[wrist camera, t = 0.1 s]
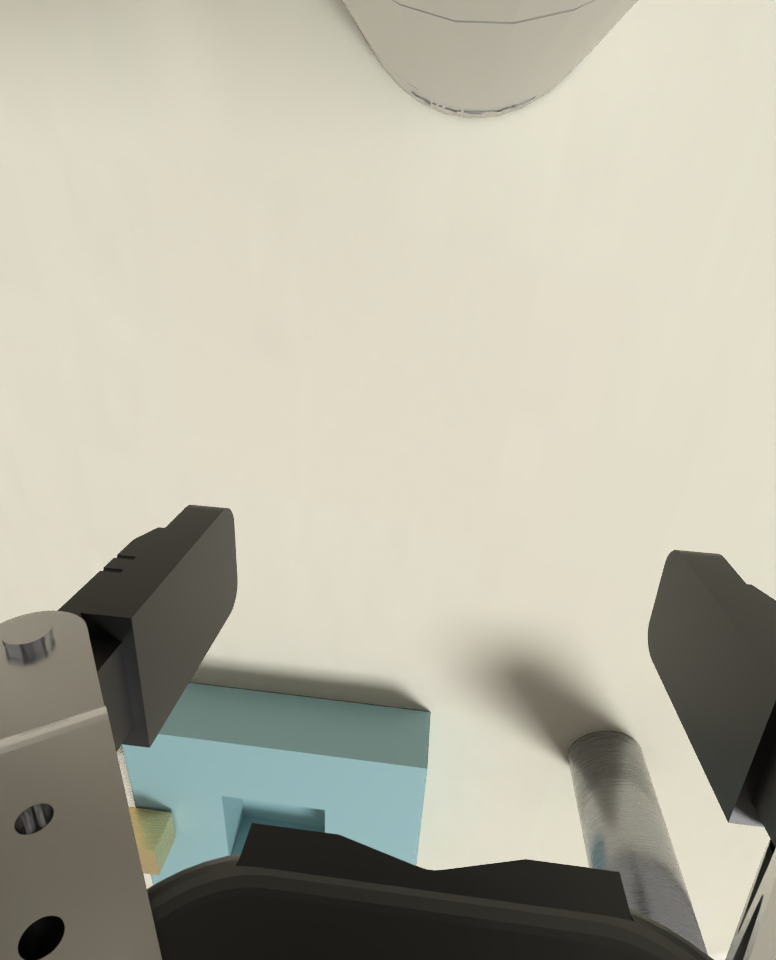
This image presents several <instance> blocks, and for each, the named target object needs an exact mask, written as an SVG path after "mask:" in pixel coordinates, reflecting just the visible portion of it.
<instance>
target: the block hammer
mask: <svg viewBox="0 0 776 960" xmlns="http://www.w3.org/2000/svg"><path fill="white" fill-rule="evenodd" d="M129 812H130V816H131V821H132V825H133V830H134V835H135V839H136V844H137V848H138V853H139V857H140V862H141V866H142V871H143V873H147V874H153V875H160V872H161V870H162V868H163V866H164V863H165V861H166V859H167V857H168V854H169V852H170V850H171V847H172V845H173V843H174V841H175V838H176V833H175V827H174V822H173V816H172V813H169V812H162V811H155V810H148V809H141V808H134V807H129Z"/></svg>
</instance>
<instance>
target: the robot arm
mask: <svg viewBox="0 0 776 960" xmlns="http://www.w3.org/2000/svg"><path fill="white" fill-rule="evenodd" d="M342 1H343V3H344V4H345V6H346V7H347V9H348V11H349V12H350V14H351V15H352V17H353V19H354V20H355V22H356V24H357V25H358V27H359V29H360V30H361V32H362V34H363V35H364V37H365V39H366V40H367V42H368V44H369V45H370V47H371V48H372V50H373V52H374V53H375V55H376V57H377V58H378V60H379V61H380V63H381V65H382V66H383V67H384V68H385V70H386V71H387V72H388V73H389V74H390V76H391V77H392V78H393V79H394V80H395V82H396V83H397V84H398V85H399V86H400V87H401V88H402V89H403V90H404V91H406V92H407V93H408V94H410V95H411V96H412V97H414V98H415V99H416V100H418V101H419V102H420V103H421V104H424V105H426V106H428V107H430V108H433V109H435V110H437V111H440V112H442V113H444V114H448V115H454V116H460V117H466V118H480V117H493V116H498V115H502V114H505V113H508V112H511V111H514V110H517V109H520V108H523V107H524V106H526V105H528V104H530V103H531V102H533V101H535V100H536V99H538V98H540V97H542V96H543V95H545V94H547V93H548V92H549V91H550V90H551V89H552V88H554V87H555V86H556V85H557V84H558V83H559V82H560V81H561V80H563V79H564V78H565V77H566V76H567V75H568V74H569V73H570V72H571V71H572V70H573V69H574V68H575V67H576V66H577V65H578V64H579V63H580V62H581V61H582V59H583V58H584V57H585V56H586V55H587V54H589V53H590V52H591V51H592V50H593V48H594V47H595V46H596V45H597V44H598V43H599V42H600V41H601V40H602V39H603V38H604V37H605V35H606V34H607V33H608V32H609V31H610V30H611V29H612V28H613V27H614V26H615V25H616V24H617V22H618V21H619V20H620V19H621V18H622V17H623V16H624V15H625V14H626V13H627V12H628V11H629V9H630V8H631V7H632V6H633V5H634V4H635V3H636V2H637V1H638V0H342ZM236 593H237V564H236V546H235V529H234V518H233V514H232V512H231V510H230V509H229V508H219V507H208V506H197V505H189V506H187V507H186V508H185V509H184V510H183V511H182V512H181V513H180V514H179V515H178V516H177V517H176V518H175V519H174V520H173V521H172V522H171V523H170V524H169V525H168V526H167V527H166V528H159V527H158V528H156V529H154V530H152V531H150V532H148V533H146V534H144V535H142V536H140V537H138V538H136V539H134V540H133V541H132V542H131V543H129V544H128V545H127V546H126V547H125V548H124V549H123V550H122V551H121V552H120V553H119V554H118V555H117V558H113V559H112V560H111V561H110V562H109V563H108V564H107V565H106V566H105V567H104V570H103V571H100V572H98V573H97V574H96V575H95V576H94V577H93V578H92V579H91V580H90V581H89V582H88V583H87V584H86V585H85V586H84V587H82V588H81V589H80V590H79V591H78V592H77V593H76V594H75V595H74V596H73V597H72V598H71V599H70V600H69V601H67V602H66V603H65V604H64V605H63V606H62V607H61V608H60V609H59V610H58V611H42V612H35V613H29V614H25V615H22V616H18V617H15V618H12V619H10V620H7V621H5V622H3V623H1V624H0V960H713V959H712V958H711V957H710V956H708V955H707V954H706V953H704V952H703V951H702V950H700V949H699V948H698V947H696V946H695V945H694V944H693V943H691V942H690V941H688V940H687V939H685V938H684V937H682V936H681V935H679V934H678V933H676V932H674V931H673V930H671V929H670V928H668V927H667V926H665V925H663V924H661V923H659V922H657V921H655V920H653V919H652V918H650V917H648V916H646V915H644V914H642V913H640V912H637V911H635V910H632V909H630V908H629V906H628V903H627V899H626V895H625V891H624V887H623V883H622V880H621V876H620V872H616V871H609V870H601V869H594V868H586V867H579V866H571V865H564V864H556V863H549V862H541V861H534V860H526V859H525V860H517V861H510V862H502V863H494V864H486V865H478V866H470V867H463V868H455V869H447V870H435V871H433V870H426V869H423V868H420V867H418V866H415V865H413V864H410V863H408V862H405V861H403V860H400V859H398V858H395V857H393V856H391V855H388V854H386V853H383V852H381V851H378V850H376V849H373V848H371V847H368V846H366V845H364V844H361V843H359V842H356V841H354V840H351V839H349V838H346V837H344V836H341V835H339V834H332V833H324V832H317V831H309V830H302V829H294V828H287V827H279V826H272V825H264V824H257V823H252V824H251V826H250V829H249V832H248V835H247V838H246V841H245V844H244V847H243V849H242V852H241V854H237V855H230V856H225V857H221V858H217V859H213V860H209V861H205V862H203V863H200V864H197V865H194V866H192V867H189V868H186V869H184V870H182V871H180V872H177V873H175V874H173V875H171V876H169V877H167V878H165V879H163V880H161V881H160V882H158V883H156V884H155V885H153V886H151V887H150V888H148V889H146V884H145V880H144V875H143V871H142V866H141V862H140V857H139V853H138V848H137V844H136V839H135V835H134V830H133V825H132V821H131V816H130V812H129V807H128V803H127V798H126V794H125V789H124V785H123V780H122V776H121V771H120V767H119V762H118V758H117V753H116V752H117V750H118V749H119V747H120V746H121V744H123V745H131V746H139V747H147V748H150V747H151V745H152V744H153V742H154V740H155V739H156V737H157V735H158V734H159V732H160V730H161V729H162V727H163V725H164V724H165V722H166V720H167V718H168V717H169V715H170V713H171V712H172V710H173V708H174V707H175V705H176V703H177V702H178V700H179V698H180V697H181V695H182V693H183V692H184V690H185V688H186V687H187V685H188V683H189V682H190V680H191V678H192V677H193V675H194V673H195V672H196V670H197V668H198V667H199V665H200V663H201V662H202V660H203V658H204V657H205V655H206V653H207V652H208V650H209V648H210V647H211V645H212V643H213V642H214V640H215V638H216V637H217V635H218V633H219V632H220V630H221V628H222V627H223V625H224V623H225V622H226V620H227V618H228V617H229V615H230V613H231V611H232V609H233V606H234V603H235V599H236ZM648 646H649V652H650V656H651V659H652V661H653V663H654V665H655V668H656V670H657V672H658V674H659V676H660V678H661V680H662V682H663V685H664V687H665V689H666V691H667V693H668V695H669V697H670V699H671V702H672V704H673V706H674V708H675V710H676V712H677V714H678V716H679V719H680V721H681V723H682V725H683V727H684V729H685V731H686V734H687V736H688V738H689V740H690V742H691V744H692V746H693V748H694V751H695V753H696V755H697V757H698V759H699V761H700V763H701V765H702V768H703V770H704V772H705V774H706V776H707V778H708V780H709V782H710V785H711V787H712V789H713V791H714V793H715V795H716V797H717V800H718V802H719V804H720V806H721V808H722V810H723V812H724V814H725V817H726V819H727V821H728V823H735V824H743V825H751V826H759V827H765V829H766V831H767V833H768V835H769V837H770V840H769V843H768V845H767V847H766V850H765V852H764V854H763V857H762V860H761V862H760V865H759V868H758V871H757V874H756V876H755V879H754V882H753V885H752V887H751V890H750V893H749V896H748V899H747V901H746V904H745V907H744V910H743V913H742V915H741V918H740V921H739V924H738V927H737V929H736V932H735V935H734V938H733V940H732V943H731V946H730V949H729V952H728V954H727V957H726V960H776V601H775V600H774V599H772V598H771V597H769V596H768V595H766V594H765V593H763V592H762V591H760V590H759V589H757V588H756V587H754V586H753V585H749V584H746V583H745V582H744V581H743V580H742V578H741V577H740V576H739V575H738V574H737V572H736V571H735V570H734V569H733V568H732V567H731V565H730V564H729V563H728V562H727V561H726V559H725V558H724V557H723V556H722V555H720V554H713V553H702V552H691V551H680V550H674V551H672V552H671V553H670V554H669V555H668V557H667V559H666V562H665V565H664V569H663V573H662V577H661V581H660V584H659V588H658V592H657V596H656V599H655V603H654V607H653V611H652V615H651V618H650V622H649V628H648Z"/></svg>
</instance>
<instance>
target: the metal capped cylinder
mask: <svg viewBox="0 0 776 960" xmlns="http://www.w3.org/2000/svg"><path fill="white" fill-rule="evenodd" d="M568 759H569V764H570V769H571V774H572V780H573V785H574V790H575V795H576V801H577V806H578V811H579V816H580V822H581V827H582V832H583V837H584V842H585V848H586V853H587V858H588V863H589V868H594V869H601V870H609V871H616V872H620V876H621V880H622V883H623V887H624V891H625V895H626V899H627V903H628V906H629V908H630V909H632V910H635V911H637V912H640V913H642V914H644V915H646V916H648V917H650V918H652V919H653V920H655V921H657V922H659V923H661V924H663V925H665V926H667V927H668V928H670V929H671V930H673V931H674V932H676V933H678V934H679V935H681V936H682V937H684V938H685V939H687V940H688V941H690V942H691V943H693V944H694V945H695V946H696V947H698V948H699V949H700V950H702V951H703V952H704V953H706V954H707V951H706V947H705V944H704V941H703V938H702V935H701V932H700V929H699V926H698V923H697V920H696V917H695V914H694V910H693V907H692V904H691V901H690V898H689V895H688V892H687V889H686V886H685V883H684V880H683V877H682V874H681V870H680V867H679V864H678V861H677V858H676V855H675V852H674V849H673V846H672V843H671V840H670V837H669V833H668V830H667V827H666V824H665V821H664V818H663V815H662V812H661V809H660V806H659V803H658V800H657V796H656V793H655V790H654V787H653V784H652V781H651V778H650V775H649V772H648V769H647V766H646V763H645V759H644V756H643V753H642V750H641V748H640V746H639V745H638V743H637V742H636V741H635V740H633V739H632V738H631V737H629V736H627V735H624V734H622V733H618V732H611V731H601V732H595V733H591V734H588V735H585V736H583V737H581V738H580V739H578V740H577V741H576V742H575V743H574V744H573V745H572V746H571V748H570V750H569V754H568ZM707 955H708V954H707Z"/></svg>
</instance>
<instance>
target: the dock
mask: <svg viewBox="0 0 776 960" xmlns="http://www.w3.org/2000/svg"><path fill="white" fill-rule="evenodd" d="M429 729H430V712H426V711H418V710H409V709H401V708H393V707H385V706H377V705H368V704H360V703H352V702H344V701H336V700H327V699H319V698H311V697H303V696H295V695H286V694H278V693H270V692H262V691H254V690H245V689H237V688H229V687H221V686H213V685H204V684H196V683H188V685H187V687H186V688H185V690H184V692H183V693H182V695H181V697H180V698H179V700H178V702H177V703H176V705H175V707H174V708H173V710H172V712H171V713H170V715H169V717H168V718H167V720H166V722H165V724H164V725H163V727H162V729H161V730H160V732H159V734H158V735H157V737H156V739H155V740H154V742H153V744H152V745H151V747H150V748H147V747H139V746H131V745H123V744H122V747H123V752H124V756H125V761H126V765H127V770H128V774H129V779H130V783H131V788H132V792H133V797H134V801H135V806H136V808H141V809H148V810H155V811H162V812H169V813H172V816H173V822H174V827H175V833H176V838H175V841H174V843H173V845H172V847H171V850H170V852H169V854H168V857H167V859H166V861H165V863H164V866H163V868H162V870H161V872H160V875H153V874H151V878H152V883H153V885H155V884H156V883H158V882H160V881H161V880H163V879H165V878H167V877H169V876H171V875H173V874H175V873H177V872H180V871H182V870H184V869H186V868H189V867H192V866H194V865H197V864H200V863H203V862H205V861H209V860H213V859H217V858H221V857H225V856H230V855H237V854H241V852H242V849H243V847H244V844H245V841H246V838H247V835H248V832H249V829H250V826H251V824H252V823H257V824H264V825H272V826H279V827H287V828H294V829H302V830H309V831H317V832H324V833H332V834H339V835H341V836H344V837H346V838H349V839H351V840H354V841H356V842H359V843H361V844H364V845H366V846H368V847H371V848H373V849H376V850H378V851H381V852H383V853H386V854H388V855H391V856H393V857H395V858H398V859H400V860H403V861H405V862H408V863H410V864H413V865H415V866H416V862H417V853H418V845H419V836H420V827H421V818H422V810H423V801H424V792H425V784H426V775H427V764H428V746H429Z"/></svg>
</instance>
